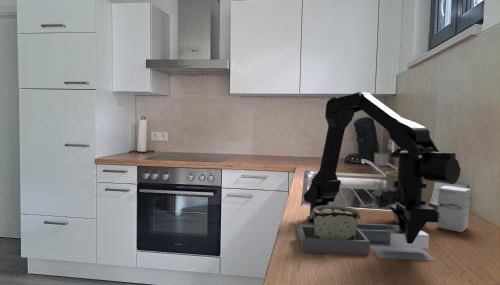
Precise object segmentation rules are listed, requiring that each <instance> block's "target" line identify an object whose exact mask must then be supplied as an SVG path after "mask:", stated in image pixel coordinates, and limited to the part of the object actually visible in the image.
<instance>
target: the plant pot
mask: <svg viewBox="0 0 500 285" xmlns="http://www.w3.org/2000/svg"><path fill="white" fill-rule="evenodd" d="M397 174H398V170H397V171H392V170H391V171H385V183H386V187H391V186H393V181H394V180H397ZM423 183H426V188H423V194H422V199H423V200H425V201H426V202H425V205H423V206H430V204H431V199H432V197H433V192H434V188H435V185H436V182H435V181H429V180H426V179H424V177H423ZM390 207H392V204H391V205H390ZM392 215H393V218H394V221H395V223H396V224H398V220H397V217H396V215H395V214H394V213H393V212H392Z"/></svg>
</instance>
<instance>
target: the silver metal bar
mask: <svg viewBox="0 0 500 285" xmlns="http://www.w3.org/2000/svg"><path fill="white" fill-rule="evenodd" d="M385 244H388V245H389V246H390V247H410V248H421V249H429V247H430V246H429V245H430V234H428V233H427V232H425V230H421V231H420V232H419V234H418V235H417V237H416V238H415V240H414V242H413V243H412V244H408V243H407V238H406V230H400V229H399V230H387V229H386V243H385Z"/></svg>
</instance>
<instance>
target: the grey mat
mask: <svg viewBox="0 0 500 285" xmlns="http://www.w3.org/2000/svg"><path fill="white" fill-rule="evenodd" d="M370 249H371V250H372V252H373V253H374V254H375V256H376V257H377V258H378V259H396V260H397V259H398V260H399V259H401V260H420V261H421V260H423V261H436V259H435V258H434V257H432V256H431V255H430V254H429V253H428V252H426V251H425V250H424V248H410V247H390V246H389V245H388V244H387V243H370Z"/></svg>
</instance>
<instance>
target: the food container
mask: <svg viewBox="0 0 500 285" xmlns="http://www.w3.org/2000/svg"><path fill="white" fill-rule="evenodd" d="M312 216H313V219H314V223H313V225H314V234H315V238H321V239H344V240H355V238H356V231H357V224H359V220H362V219H361V218H362V217H361V213H360V211H359V210H358V209H356V208H353V207H348V206H341V205H329V204H328V205H326V206H318V207H315V208H314V209H313V211H312V214H311V219H312Z"/></svg>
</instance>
